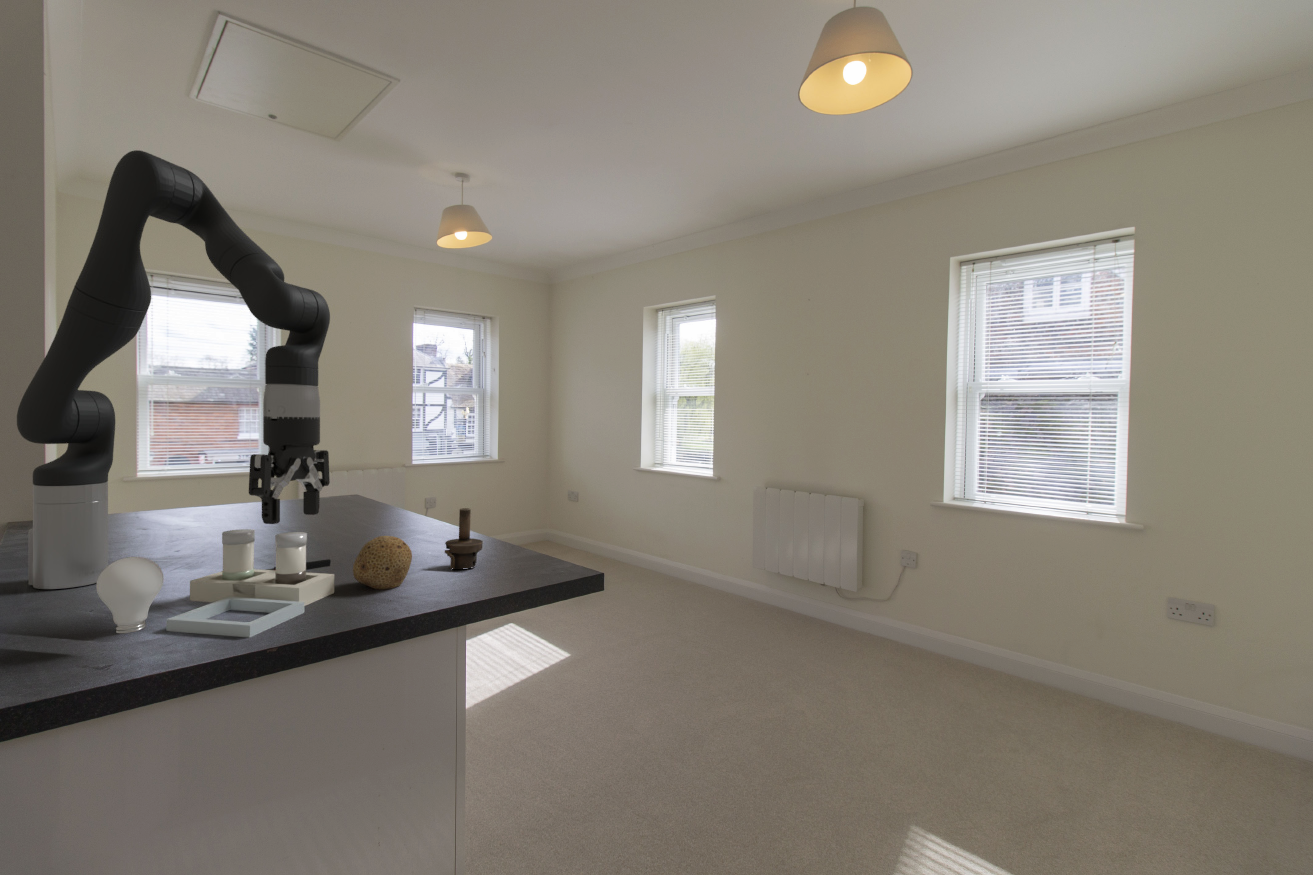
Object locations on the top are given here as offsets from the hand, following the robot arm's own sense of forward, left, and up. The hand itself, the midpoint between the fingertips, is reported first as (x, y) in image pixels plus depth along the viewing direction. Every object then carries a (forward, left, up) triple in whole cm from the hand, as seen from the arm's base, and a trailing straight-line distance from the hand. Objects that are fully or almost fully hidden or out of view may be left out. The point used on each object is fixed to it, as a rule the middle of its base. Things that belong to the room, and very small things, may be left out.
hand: (292, 518), depth 92 cm
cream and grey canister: (0, 0, -13) cm, 13 cm away
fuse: (-9, 0, -13) cm, 15 cm away
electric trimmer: (-13, +14, -15) cm, 23 cm away
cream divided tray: (-5, 0, -14) cm, 15 cm away
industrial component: (+16, +30, -14) cm, 36 cm away
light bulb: (-11, -16, -14) cm, 24 cm away
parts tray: (0, -10, -14) cm, 18 cm away
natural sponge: (+9, +10, -14) cm, 20 cm away
